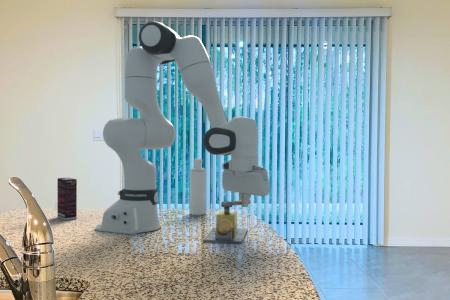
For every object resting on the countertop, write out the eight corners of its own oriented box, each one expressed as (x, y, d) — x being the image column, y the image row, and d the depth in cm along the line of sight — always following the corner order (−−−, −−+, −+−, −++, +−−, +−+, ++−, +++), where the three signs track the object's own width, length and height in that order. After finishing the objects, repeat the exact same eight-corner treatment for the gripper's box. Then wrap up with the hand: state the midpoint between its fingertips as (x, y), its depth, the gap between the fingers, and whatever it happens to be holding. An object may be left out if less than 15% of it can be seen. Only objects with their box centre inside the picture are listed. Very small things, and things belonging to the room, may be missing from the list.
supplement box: (77, 219, 153) (77, 178, 152) (64, 220, 150) (64, 179, 149) (69, 215, 159) (68, 177, 159) (56, 217, 156) (56, 178, 155)
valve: (203, 242, 120) (203, 211, 119) (213, 229, 136) (213, 202, 136) (241, 244, 118) (242, 212, 117) (247, 231, 134) (247, 203, 134)
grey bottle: (187, 214, 164) (187, 155, 163) (195, 211, 170) (195, 154, 169) (200, 215, 161) (200, 155, 160) (208, 213, 167) (208, 155, 166)
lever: (225, 207, 124) (225, 203, 124) (219, 206, 127) (219, 201, 127) (252, 204, 131) (252, 200, 131) (245, 202, 134) (245, 198, 134)
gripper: (274, 166, 123) (274, 209, 123) (233, 163, 139) (233, 201, 139) (259, 167, 119) (259, 212, 119) (219, 164, 135) (219, 203, 135)
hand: (244, 206), depth 129 cm, fingers closed
